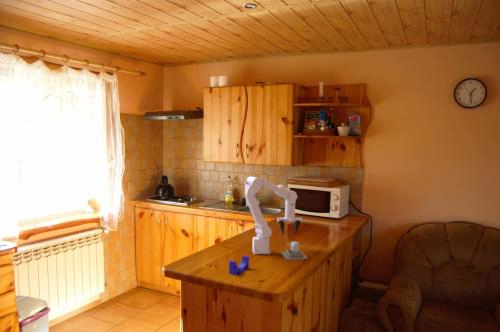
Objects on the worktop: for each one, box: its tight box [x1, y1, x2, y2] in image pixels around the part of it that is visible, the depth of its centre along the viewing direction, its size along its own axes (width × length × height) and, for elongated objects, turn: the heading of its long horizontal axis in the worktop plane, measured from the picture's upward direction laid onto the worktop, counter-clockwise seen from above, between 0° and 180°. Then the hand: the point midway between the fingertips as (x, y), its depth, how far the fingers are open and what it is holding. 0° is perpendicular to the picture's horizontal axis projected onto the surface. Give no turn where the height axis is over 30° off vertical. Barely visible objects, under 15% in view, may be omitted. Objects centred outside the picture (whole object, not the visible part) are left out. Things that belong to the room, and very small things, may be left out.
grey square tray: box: [280, 249, 309, 261], centre depth 218 cm, size 12×12×3 cm
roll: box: [290, 241, 300, 254], centre depth 218 cm, size 4×4×7 cm
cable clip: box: [228, 255, 250, 276], centre depth 192 cm, size 12×4×6 cm, turn 144°
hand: (289, 233), depth 231 cm, fingers open, 7 cm apart
